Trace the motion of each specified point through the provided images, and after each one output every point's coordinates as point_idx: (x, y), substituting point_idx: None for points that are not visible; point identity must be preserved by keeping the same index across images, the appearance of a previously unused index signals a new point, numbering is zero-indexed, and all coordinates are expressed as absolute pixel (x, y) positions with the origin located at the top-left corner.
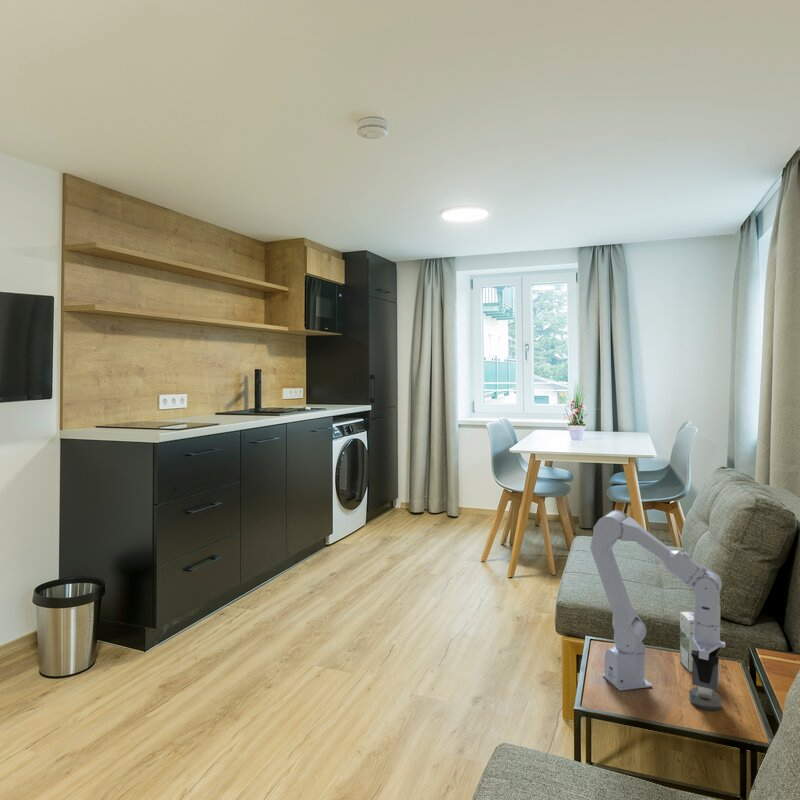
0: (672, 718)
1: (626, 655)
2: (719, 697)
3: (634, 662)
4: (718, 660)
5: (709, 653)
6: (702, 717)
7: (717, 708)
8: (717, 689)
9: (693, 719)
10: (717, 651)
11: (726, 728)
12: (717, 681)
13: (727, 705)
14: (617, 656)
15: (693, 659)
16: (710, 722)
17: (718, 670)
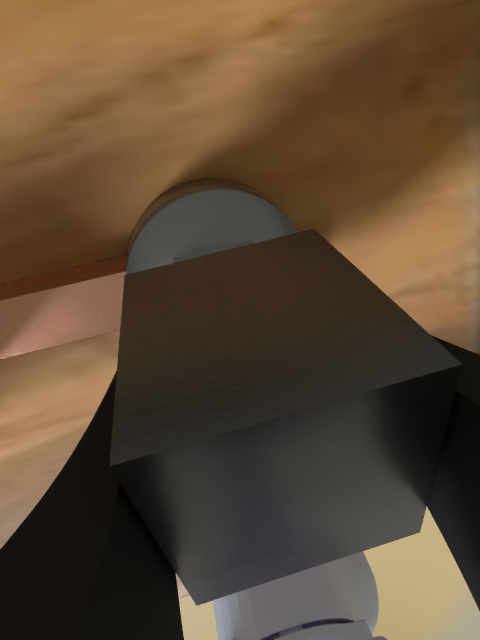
0: (436, 309)
1: (359, 618)
2: (188, 212)
3: (335, 574)
4: (269, 422)
5: (145, 553)
6: (368, 225)
7: (254, 191)
8: (318, 233)
9: (407, 249)
10: (98, 571)
11: (421, 87)
12: (348, 263)
13: (138, 156)
14: (372, 617)
15: (404, 535)
16: (398, 179)
17: (255, 326)
